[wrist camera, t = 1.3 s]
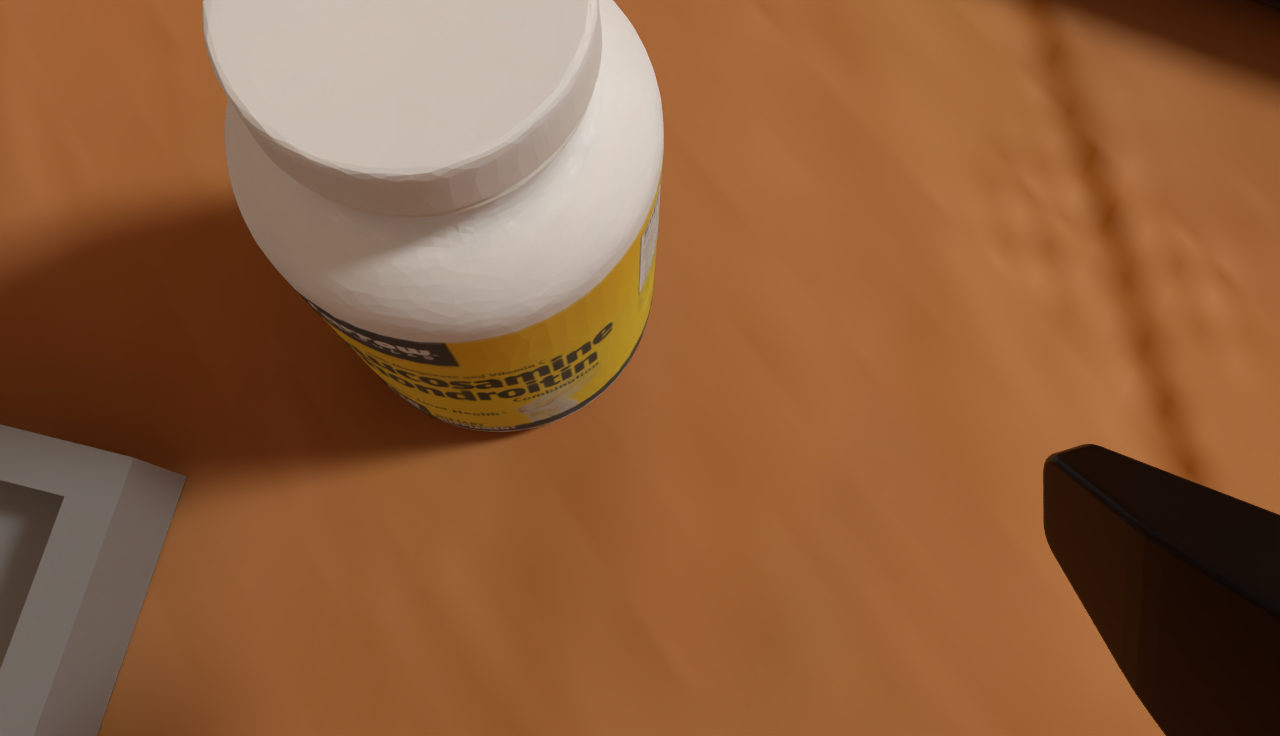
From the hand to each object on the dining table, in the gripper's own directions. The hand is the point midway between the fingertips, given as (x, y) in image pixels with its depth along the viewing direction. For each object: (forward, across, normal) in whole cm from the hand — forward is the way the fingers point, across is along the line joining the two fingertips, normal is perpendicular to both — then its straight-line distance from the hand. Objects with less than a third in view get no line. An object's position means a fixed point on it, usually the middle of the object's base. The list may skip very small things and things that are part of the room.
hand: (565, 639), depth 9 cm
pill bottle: (+15, 0, +4) cm, 15 cm away
